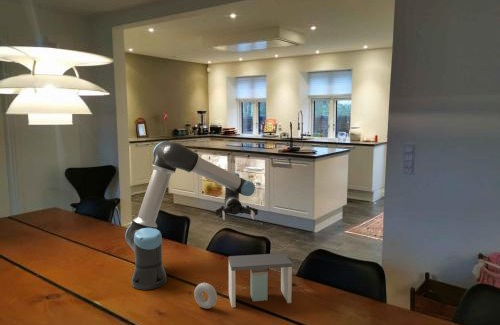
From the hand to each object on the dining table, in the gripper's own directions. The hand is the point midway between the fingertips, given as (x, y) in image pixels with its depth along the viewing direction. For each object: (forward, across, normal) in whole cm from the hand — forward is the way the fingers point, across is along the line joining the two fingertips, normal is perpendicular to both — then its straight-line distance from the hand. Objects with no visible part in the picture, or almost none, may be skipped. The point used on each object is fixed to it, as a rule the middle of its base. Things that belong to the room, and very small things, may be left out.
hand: (238, 216), depth 165 cm
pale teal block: (+21, -6, -29) cm, 36 cm away
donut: (+26, +16, -29) cm, 42 cm away
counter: (+22, -6, -28) cm, 36 cm away
